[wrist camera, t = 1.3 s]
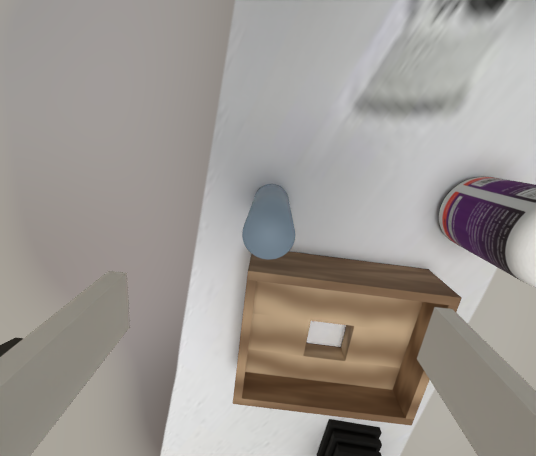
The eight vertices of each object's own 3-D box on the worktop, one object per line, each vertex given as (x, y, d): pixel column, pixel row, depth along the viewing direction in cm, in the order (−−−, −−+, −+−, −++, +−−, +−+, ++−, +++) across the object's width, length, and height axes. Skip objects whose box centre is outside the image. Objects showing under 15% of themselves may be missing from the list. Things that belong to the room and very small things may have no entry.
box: (253, 246, 34) (248, 270, 28) (428, 269, 34) (461, 298, 28) (239, 362, 40) (232, 403, 34) (390, 381, 40) (411, 425, 34)
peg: (256, 182, 32) (245, 206, 20) (290, 186, 32) (299, 213, 20) (252, 215, 33) (240, 256, 22) (285, 219, 33) (290, 262, 22)
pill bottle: (461, 255, 34) (586, 334, 20) (420, 211, 32) (526, 265, 19) (521, 208, 32) (706, 261, 18) (480, 159, 30) (649, 176, 17)
